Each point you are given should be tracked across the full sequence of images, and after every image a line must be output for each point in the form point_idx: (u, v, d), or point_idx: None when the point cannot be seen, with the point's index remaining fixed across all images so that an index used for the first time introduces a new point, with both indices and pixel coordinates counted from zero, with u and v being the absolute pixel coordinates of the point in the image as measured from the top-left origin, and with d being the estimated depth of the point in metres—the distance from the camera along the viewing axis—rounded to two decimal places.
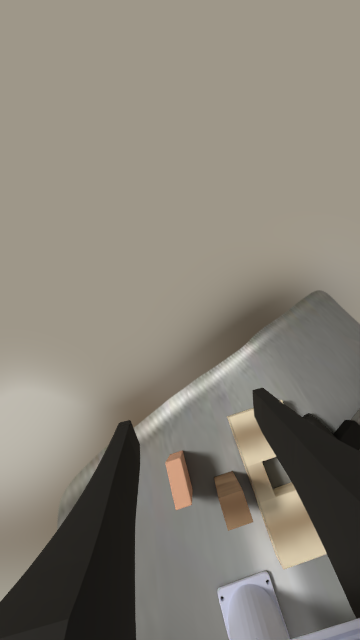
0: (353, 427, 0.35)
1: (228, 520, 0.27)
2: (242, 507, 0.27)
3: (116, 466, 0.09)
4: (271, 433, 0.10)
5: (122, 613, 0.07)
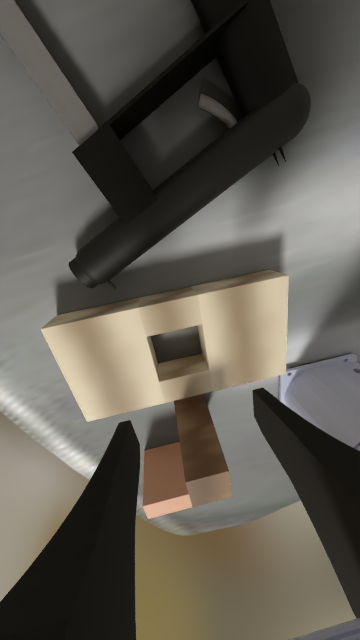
0: (91, 165, 0.13)
1: (221, 496, 0.17)
2: (208, 482, 0.16)
3: (116, 466, 0.09)
4: (271, 433, 0.10)
5: (122, 613, 0.07)
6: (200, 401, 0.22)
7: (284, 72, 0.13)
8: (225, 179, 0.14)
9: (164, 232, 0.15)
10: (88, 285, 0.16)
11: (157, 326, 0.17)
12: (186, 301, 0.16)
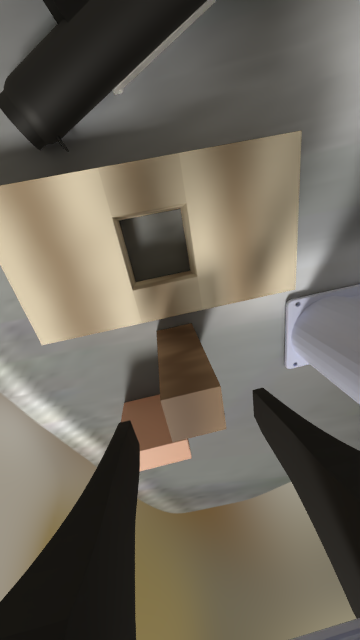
0: None
1: (211, 428, 0.13)
2: (192, 403, 0.12)
3: (116, 466, 0.09)
4: (271, 433, 0.10)
5: (122, 613, 0.07)
6: (188, 331, 0.18)
7: None
8: None
9: (126, 47, 0.11)
10: (25, 133, 0.12)
11: (125, 201, 0.13)
12: (163, 163, 0.12)
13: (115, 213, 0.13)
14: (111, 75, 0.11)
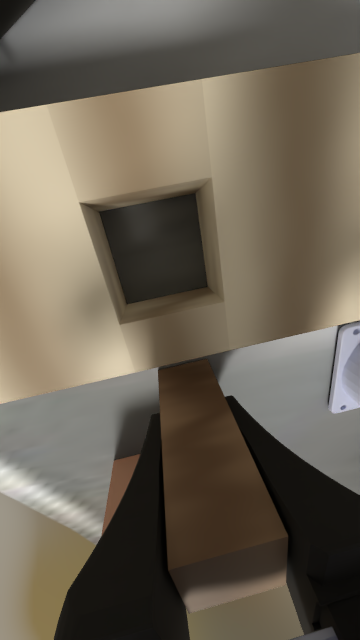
0: None
1: (259, 587, 0.07)
2: (231, 564, 0.06)
3: (159, 455, 0.09)
4: None
5: (178, 597, 0.07)
6: (204, 375, 0.12)
7: None
8: None
9: None
10: None
11: (103, 173, 0.07)
12: (172, 99, 0.06)
13: (85, 195, 0.07)
14: None
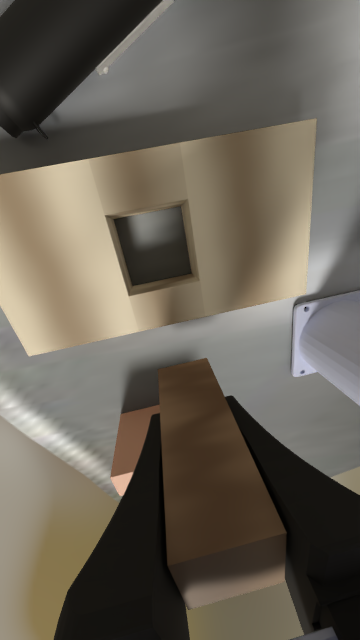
0: None
1: (258, 584, 0.07)
2: (230, 560, 0.06)
3: (159, 455, 0.09)
4: None
5: (178, 597, 0.07)
6: (204, 374, 0.13)
7: None
8: None
9: (108, 14, 0.09)
10: None
11: (120, 197, 0.11)
12: (162, 154, 0.11)
13: (108, 210, 0.11)
14: (93, 48, 0.10)
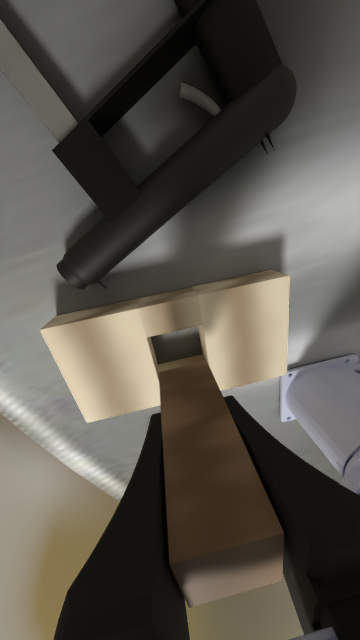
0: (72, 162, 0.13)
1: (257, 582, 0.07)
2: (229, 559, 0.06)
3: (159, 455, 0.09)
4: None
5: (178, 597, 0.07)
6: (204, 376, 0.13)
7: (266, 55, 0.12)
8: (211, 170, 0.14)
9: (151, 228, 0.15)
10: (77, 286, 0.16)
11: (157, 327, 0.17)
12: (186, 302, 0.16)
13: (149, 335, 0.17)
14: (140, 242, 0.15)
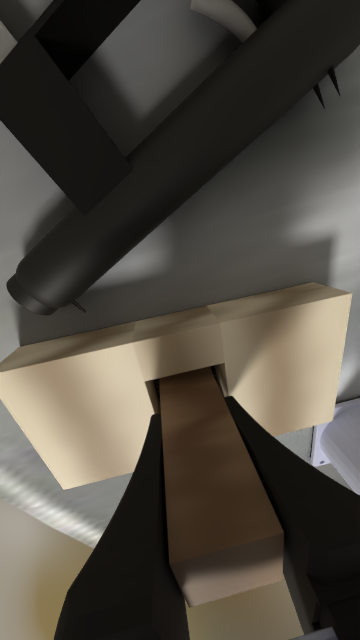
0: (13, 114, 0.08)
1: (257, 582, 0.07)
2: (229, 559, 0.06)
3: (159, 455, 0.09)
4: None
5: (178, 597, 0.07)
6: (204, 376, 0.13)
7: None
8: (243, 128, 0.09)
9: (149, 224, 0.10)
10: (40, 312, 0.10)
11: (160, 367, 0.12)
12: (202, 332, 0.11)
13: (148, 378, 0.12)
14: (132, 245, 0.10)
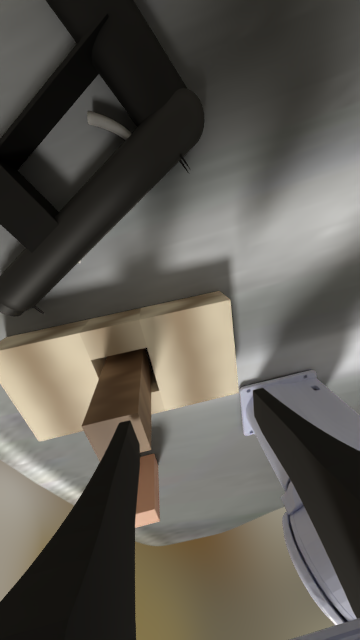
0: None
1: None
2: (113, 427, 0.13)
3: (116, 466, 0.09)
4: (271, 433, 0.10)
5: (122, 613, 0.07)
6: (136, 351, 0.19)
7: (164, 80, 0.12)
8: (126, 195, 0.14)
9: (76, 254, 0.15)
10: (10, 314, 0.16)
11: (101, 350, 0.17)
12: (128, 326, 0.17)
13: (93, 357, 0.17)
14: (68, 268, 0.16)
